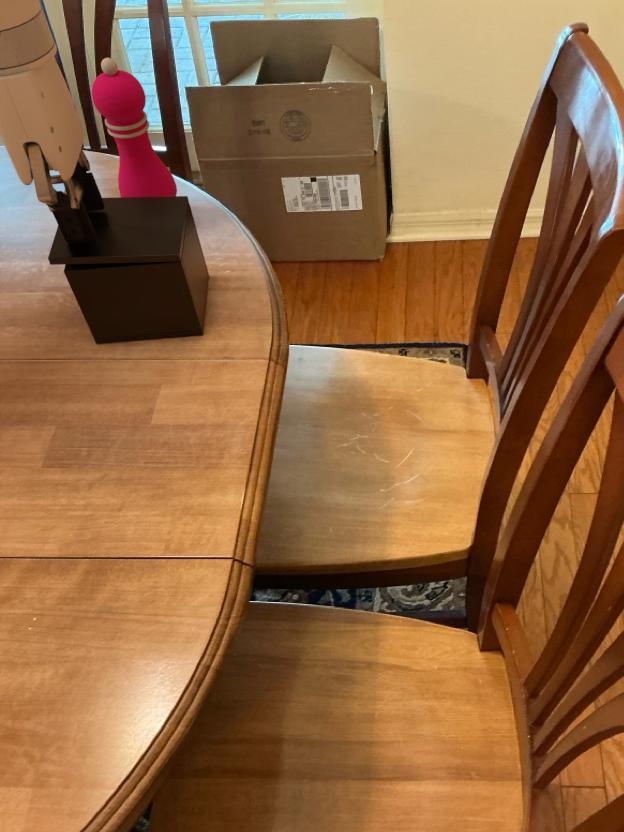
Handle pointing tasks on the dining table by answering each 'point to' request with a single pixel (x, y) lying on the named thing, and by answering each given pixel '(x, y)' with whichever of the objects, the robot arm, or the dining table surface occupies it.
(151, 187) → the pepper mill
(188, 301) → the waste bin
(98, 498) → the dining table surface
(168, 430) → the dining table surface
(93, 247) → the bin lid
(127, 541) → the dining table surface
